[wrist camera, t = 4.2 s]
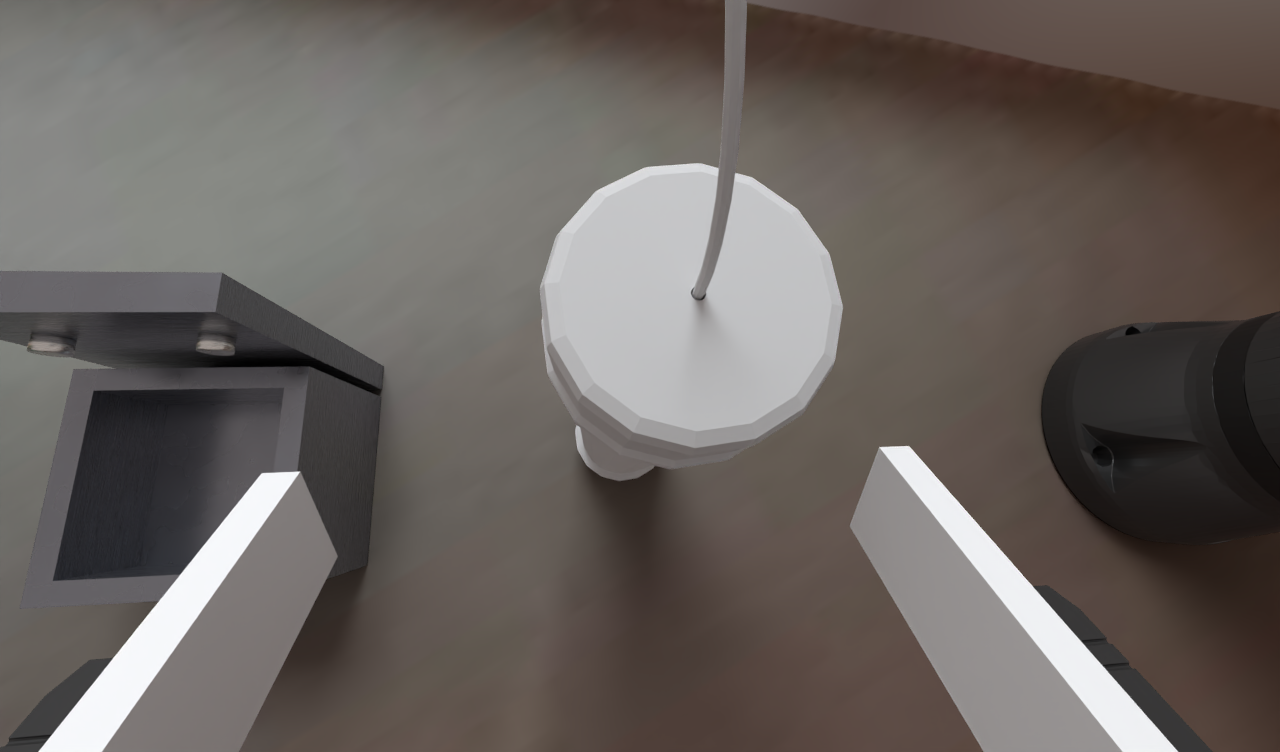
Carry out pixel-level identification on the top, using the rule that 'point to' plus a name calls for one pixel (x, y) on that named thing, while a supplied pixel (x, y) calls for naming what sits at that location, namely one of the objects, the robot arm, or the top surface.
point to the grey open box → (183, 424)
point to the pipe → (688, 308)
